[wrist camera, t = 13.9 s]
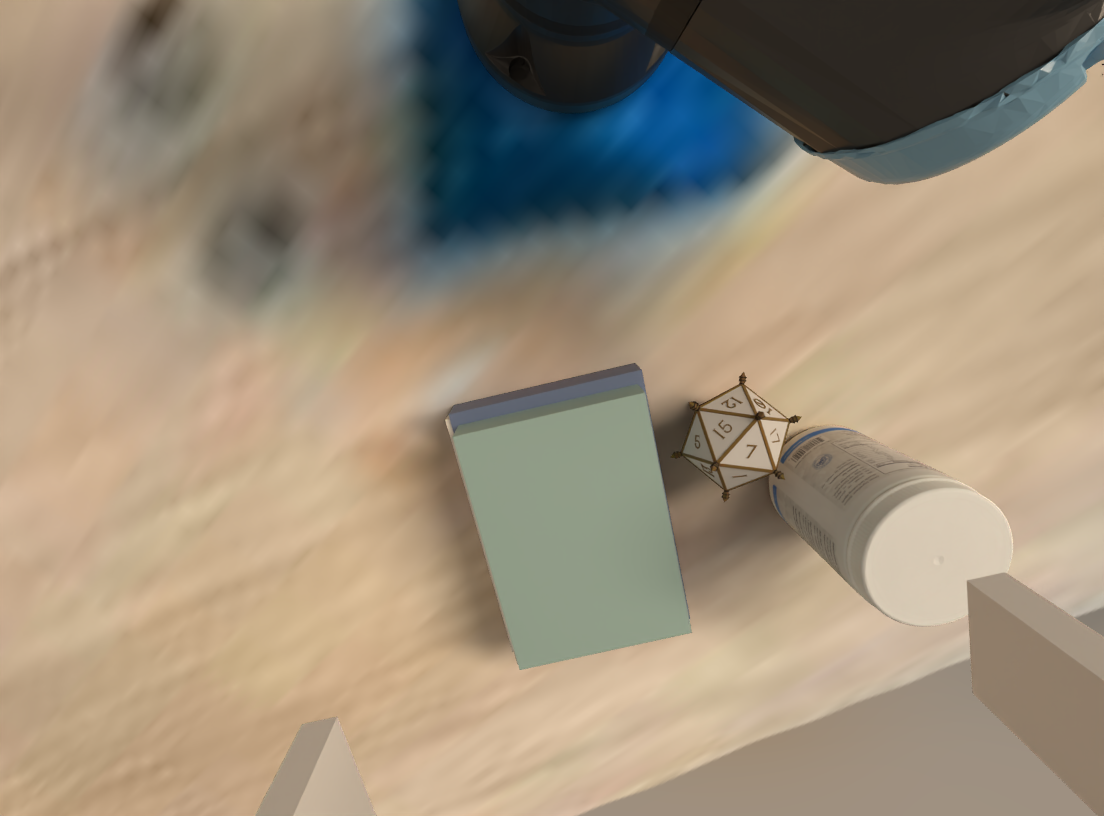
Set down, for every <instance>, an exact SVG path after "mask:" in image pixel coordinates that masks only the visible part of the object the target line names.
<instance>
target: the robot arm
mask: <svg viewBox="0 0 1104 816" xmlns="http://www.w3.org/2000/svg"><path fill="white" fill-rule="evenodd" d="M457 1H458V6H459V10H460V13H461V16H462V20H463V23H464V27H465V29H466V32H467V35H468V38H469V40H470V42H471V45H472V47H473V48H474V50H475V52H476V54H477V56H478V57H479V59H480V61H481V62H482V64H483V65H484V67H485V68H486V69H487V70H488V72H489V73H490V74H491V75H492V76H493V77H494V79H495V80H496V81H497V82H498V83H499V84H501V85H502V86H503V87H504V88H505V89H506V90H508V91H509V92H510V93H512V94H513V95H514V96H516V97H517V98H519V99H521V100H523V101H524V102H527V103H529V104H531V105H533V106H536V107H538V108H541V109H545V110H548V111H553V112H560V113H583V112H590V111H595V110H598V109H602V108H605V107H607V106H610V105H612V104H614V103H616V102H618V101H620V100H622V99H624V98H625V97H627V96H628V95H630V94H631V93H633V92H634V91H635V90H637V89H638V88H639V87H640V86H641V85H642V84H643V83H644V82H646V80H647V79H648V78H649V77H650V76H651V75H652V74H653V73H654V71H655V70H656V69H657V68H658V66H659V65H660V63H661V62H662V60H663V59H664V57H665V55H666V54H667V52H668V51H669V52H670V53H671V54H672V55H674V56H675V57H677V58H678V59H680V60H681V61H683V62H684V63H686V64H687V65H689V66H690V67H692V68H693V69H695V70H696V71H698V72H699V73H701V74H702V75H704V76H705V77H706V78H708V79H709V80H711V81H712V82H714V83H715V84H717V85H718V86H720V87H721V88H723V89H724V90H726V91H727V92H729V93H730V94H732V95H733V96H735V97H736V98H738V99H739V100H741V101H742V102H743V103H745V104H746V105H748V106H749V107H751V108H752V109H754V110H755V111H757V112H758V113H760V114H761V115H763V116H764V117H766V118H767V119H769V120H770V121H772V122H773V123H775V124H776V125H777V126H779V127H780V128H782V129H783V130H785V131H786V132H788V133H789V134H791V135H792V136H794V141H795V142H796V144H797V145H798V146H799V147H800V148H802V149H803V150H804V151H806V152H807V153H809V154H811V155H813V156H818V157H821V158H823V159H828V160H830V161H832V162H833V163H835V164H837V165H838V166H840V167H842V168H843V169H845V170H847V171H848V172H850V173H851V174H853V175H855V176H857V177H859V178H861V179H863V180H866V181H869V182H871V181H872V182H877V183H882V184H904V183H910V182H917V181H921V180H925V179H929V178H932V177H935V176H938V175H941V174H944V173H946V172H949V171H951V170H954V169H956V168H958V167H961V166H963V165H965V164H967V163H969V162H971V161H973V160H975V159H977V158H979V157H981V156H983V155H985V154H987V153H989V152H990V151H992V150H994V149H996V148H997V147H999V146H1001V145H1003V144H1004V143H1006V142H1008V141H1009V140H1011V139H1013V138H1014V137H1016V136H1017V135H1019V134H1020V133H1022V132H1023V131H1025V130H1026V129H1028V128H1029V127H1030V126H1032V125H1033V124H1035V123H1036V122H1038V121H1039V120H1040V119H1042V118H1043V117H1045V116H1046V115H1047V114H1049V113H1050V112H1051V111H1053V110H1054V109H1055V108H1056V107H1058V106H1059V105H1060V104H1061V103H1063V102H1064V101H1065V100H1066V99H1067V98H1069V97H1070V96H1071V95H1072V94H1073V93H1074V92H1076V91H1077V90H1078V89H1079V88H1080V87H1081V86H1083V85H1084V84H1085V83H1086V80H1087V74H1086V70H1087V69H1088V68H1090V67H1091V66H1093V65H1094V64H1096V63H1098V62H1099V61H1102V60H1104V0H457ZM967 598H968V617H969V636H970V655H971V673H972V692H973V694H974V695H975V696H976V697H977V698H978V699H979V700H980V701H981V702H982V703H983V704H984V705H985V706H986V707H987V708H988V709H989V710H990V711H991V712H992V713H993V714H995V715H996V716H997V717H998V718H999V719H1000V720H1001V721H1002V722H1003V723H1004V724H1005V725H1006V726H1007V727H1008V728H1009V729H1010V730H1011V731H1012V732H1013V733H1014V734H1015V735H1016V736H1017V737H1018V738H1019V739H1020V740H1021V741H1022V742H1023V743H1024V744H1025V745H1026V746H1027V747H1028V748H1029V749H1030V750H1031V751H1032V752H1033V753H1034V754H1035V755H1036V756H1037V757H1038V758H1039V759H1040V760H1042V761H1043V762H1044V763H1045V765H1047V766H1048V767H1049V768H1050V769H1051V770H1052V771H1053V772H1054V773H1055V774H1056V775H1057V776H1058V777H1059V778H1060V779H1061V780H1062V781H1063V782H1064V783H1065V784H1066V785H1067V786H1068V787H1069V788H1070V789H1071V790H1072V791H1073V792H1074V793H1075V794H1076V795H1077V796H1078V797H1079V798H1080V799H1081V800H1082V801H1083V802H1084V803H1085V804H1086V805H1087V806H1088V807H1090V808H1091V810H1092V811H1093V812H1094V813H1096V814H1097V815H1098V816H1104V637H1103V636H1101V635H1100V634H1098V633H1097V632H1095V631H1094V630H1092V629H1091V628H1089V627H1088V626H1086V625H1085V624H1083V623H1082V622H1080V621H1079V620H1077V619H1075V618H1074V617H1072V616H1071V615H1069V614H1068V613H1066V612H1065V611H1063V610H1062V609H1060V608H1059V607H1057V606H1056V605H1054V604H1053V603H1051V602H1050V601H1048V600H1046V599H1045V598H1043V597H1042V596H1040V595H1039V594H1037V593H1036V592H1034V591H1033V590H1031V589H1030V588H1028V587H1027V586H1025V585H1023V584H1022V583H1020V582H1019V581H1017V580H1016V579H1014V578H1013V577H1011V576H1010V575H1008V574H1007V573H1005V572H1003V573H999V574H994V575H989V576H985V577H980V578H976V579H971V580H967ZM255 816H376V813H375V811H374V808H373V806H372V803H371V801H370V798H369V796H368V793H367V790H366V788H365V785H364V783H363V780H362V778H361V775H360V773H359V770H358V768H357V765H356V763H355V760H354V757H353V755H352V752H351V750H350V747H349V745H348V742H347V740H346V737H345V735H344V732H343V730H342V727H341V724H340V722H339V719H338V717H333V718H328V719H324V720H319V721H315V722H310V723H305V724H302V725H301V727H300V729H299V731H298V733H297V735H296V737H295V739H294V741H293V743H292V745H291V747H290V749H289V751H288V752H287V754H286V756H285V758H284V760H283V762H282V764H281V766H280V768H279V770H278V772H277V774H276V776H275V778H274V780H273V782H272V784H271V786H270V787H269V789H268V791H267V793H266V795H265V797H264V799H263V801H262V803H261V805H260V807H259V809H258V811H257V813H256V815H255Z"/></svg>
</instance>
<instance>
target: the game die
mask: <svg viewBox="0 0 1104 816" xmlns="http://www.w3.org/2000/svg"><path fill="white" fill-rule="evenodd" d="M746 378H747V377H746V376H745V374H744V372H743V374H742V375H741V376H740V378H739V381H740V384H739V385H737V386H735V387H733V388H731V389H729V390H727V391H725V392H724V393H722V394H720V395H718V396H716V397H714V398H712V399H711V400H709V401H707V402H705V403H703V404H701V405H698V403H696V402H694V401H693V402H689V404H690V409H692V410H695V413H694V416H693V419H692V422H691V424H690V427H689V430H688V433H687V436H686V439H685V442H684V444H683V447H682V450H681V452H678V451H677V452H674V453H673V455H672V456H671V458H676V459H677V458H678V457H679V458H680V456H684V457H685V458H686V459H687V460H688V461H690V462H691V463H692V464H693V465H694V466H696V467H697V468H698V469H699V470H700V471H702V472H703V473H704V474H705V475H706V476H708V477H709V478H710V479H711V480H712V481H714V482H715V483H716V484H717V485H718V486H720V487H721V488H722V489H723V490H724V492H723V493H722V494H723V496H722V497H723V500H724V502H725V501H726V500H727V499H728V498H729V495H730V494H729V491H730V490H732V489H735V488H737V487H740V486H743V485H745V484H748V483H750V482H753V481H756V480H758V479H761V478H763V477H766V476H768V475H771V474H775V477H777V479H783V480H785V478H784V473H782V472H781V471H778V470H777V469H778V465H779V461H780V457H781V454H782V450H783V446H784V443H785V439H786V435H787V431H788V428H789V424H790V423H795V422H798V421H799V420H800V418H801V417H799V416H796V415H794V416H793V417H791V418H789V419H788V418H786V417H785V416H784V415H783V414H781V413H780V412H779V411H777V410H776V409H775V408H774V407H772V406H771V405H770V404H769V403H767V402H766V401H765V400H763V399H762V398H761V397H760V396H758V395H757V394H756V393H754V392H753V391H752V390H751V389H749V388H748V387H747V386H745V385H744V383H745V381H746Z"/></svg>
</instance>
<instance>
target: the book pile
mask: <svg viewBox="0 0 1104 816" xmlns="http://www.w3.org/2000/svg"><path fill="white" fill-rule="evenodd" d="M445 421H446V425H447V428H448V432H449V435H450V438H451V442H452V445H453V449H454V452H455V456H456V459H457V463H458V466H459V470H460V473H461V476H462V480H463V483H464V487H465V490H466V494H467V497H468V501H469V504H470V507H471V511H472V514H473V518H474V521H475V525H476V528H477V532H478V535H479V538H480V542H481V545H482V549H483V552H484V556H485V559H486V563H487V566H488V569H489V573H490V576H491V580H492V583H493V587H494V590H495V594H496V597H497V601H498V604H499V607H500V611H501V614H502V618H503V621H504V625H505V628H506V632H507V635H508V638H509V642H510V645H511V649H512V652H514V654H515V657H516V661H517V664H518V665H519V669H520V670H522V669H527V668H532V667H536V666H541V665H546V664H550V663H555V662H559V661H564V660H569V659H573V658H578V657H582V656H587V655H592V654H596V653H601V652H606V651H610V650H615V649H619V648H624V647H629V646H633V645H638V644H642V643H647V642H652V641H656V640H661V639H666V638H670V637H675V636H679V635H684V634H689V633H692V631H691V625H690V620H689V619H690V615H689V610H688V605H687V600H686V595H685V590H684V585H683V580H682V574H681V569H680V564H679V559H678V554H677V549H676V544H675V538H674V533H673V528H672V523H671V518H670V513H669V508H668V503H667V497H666V492H665V487H664V482H663V477H662V472H661V467H660V461H659V456H658V451H657V446H656V441H655V436H654V431H653V426H652V420H651V415H650V410H649V405H648V400H647V395H646V390H645V384H644V379H643V374H642V370H641V369H640V368H639V367H638V366H637V365H636V364H635V363H633V364H629V365H625V366H620V367H616V368H612V369H607V370H603V371H599V372H594V373H590V374H586V375H582V376H577V377H573V378H569V379H564V380H560V381H556V382H551V383H547V384H543V385H539V386H534V387H530V388H526V389H521V390H517V391H513V392H509V393H504V394H500V395H496V396H491V397H487V398H483V399H478V400H474V401H470V402H466V403H461V404H457V405H454V406H453V408H452V409H451V411H450V413H449V414H448V416H447V418H446V419H445Z"/></svg>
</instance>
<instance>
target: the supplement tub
mask: <svg viewBox="0 0 1104 816" xmlns="http://www.w3.org/2000/svg"><path fill="white" fill-rule="evenodd" d="M777 470H778V471H781V472H782V473H784V478H785V480H783V479H777V477H775V474H771V475H769V492H770V497H771V500H772V503H773V505H774V507H775V509H776V511H777V512H778V514H779V515H780V516H781V517H782V518H783V519H784V520H785V521H786V523H787V524H788V525H790V526H791V527H792V529H794V530H795V531H796V532H797V533H798V534H799V535H800V536H801V537H802V538H803V539H804V540H805V541H806V542H807V543H808V544H809V545H810V546H811V547H812V548H813V549H814V550H815V551H816V552H817V553H818V554H819V555H820V556H821V557H822V558H823V559H824V560H825V561H826V562H827V563H828V564H829V565H830V566H831V567H832V568H833V569H834V570H835V571H836V572H837V573H838V574H839V575H840V576H841V577H842V578H843V579H844V580H845V581H846V582H847V583H848V584H849V585H850V586H851V587H852V588H853V589H854V590H855V591H856V592H857V593H858V594H860V595H861V596H862V597H863V598H864V599H865V600H866V601H867V602H869V603H870V604H871V605H873V606H874V607H876V608H877V609H878V610H879V611H881V612H882V613H883V614H885V615H886V616H888V617H889V618H891V619H893V620H895V621H898V622H900V623H903V624H907V625H912V626H921V627H927V626H938V625H943V624H947V623H951V622H954V621H956V620H959V619H961V618H963V617H965V616H967V615H968V598H967V580H971V579H976V578H980V577H985V576H989V575H994V574H999V573H1003V572H1005V573H1007V572H1008V570H1009V567H1010V564H1011V560H1012V554H1013V538H1012V532H1011V529H1010V526H1009V523H1008V521H1007V519H1006V517H1005V516H1004V514H1003V513H1002V511H1001V510H1000V509H999V508H998V507H997V506H996V505H995V504H994V503H993V502H992V501H991V500H989V499H988V498H986V497H984V496H983V495H981V494H979V493H978V492H977V491H976V490H974V489H973V488H971V487H970V486H968V485H966V484H964V483H962V482H960V481H958V480H956V479H954V478H952V477H950V476H948V475H946V474H944V473H942V472H940V471H938V470H936V469H934V468H932V467H930V466H928V465H926V464H924V463H921V462H919V461H917V460H915V459H913V458H911V457H909V456H907V455H905V454H903V453H901V452H899V451H897V450H895V449H892V448H890V447H888V446H886V445H884V444H882V443H880V442H878V441H876V440H874V439H872V438H870V437H867V436H865V435H863V434H861V433H859V432H857V431H855V430H853V429H850V428H847V427H843V426H836V425H826V426H819V427H814V428H811V429H808V430H806V431H804V432H802V433H800V434H798V435H796V436H795V437H793V438H792V439H791V440H790V441H788V442H787V443H786V444H785V445H784V446H783V450H782V454H781V457H780V461H779V465H778V469H777Z"/></svg>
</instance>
